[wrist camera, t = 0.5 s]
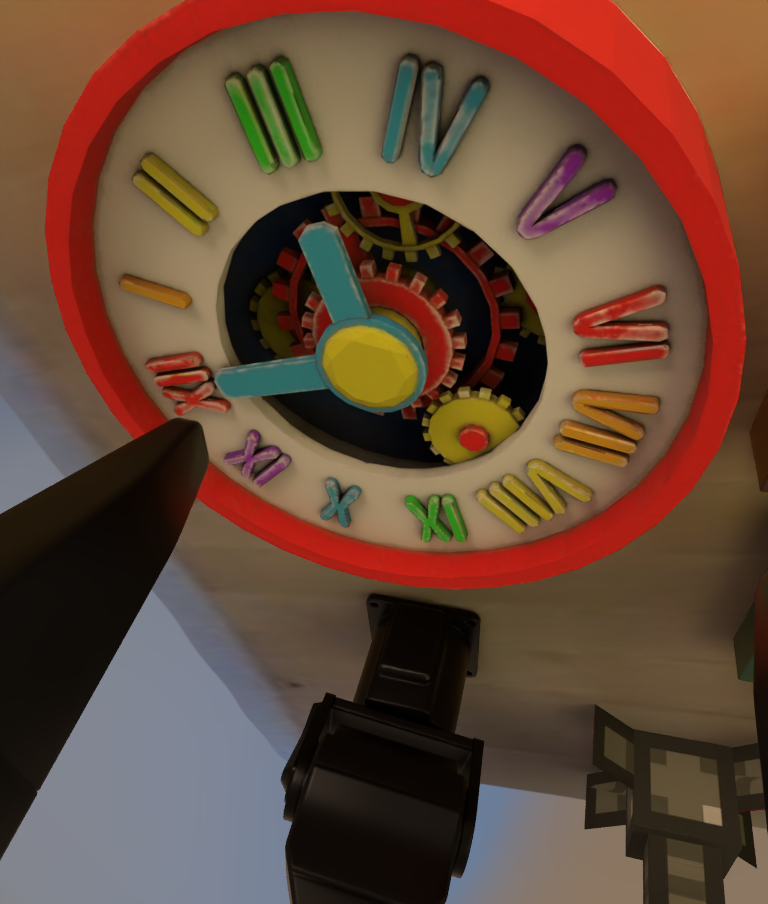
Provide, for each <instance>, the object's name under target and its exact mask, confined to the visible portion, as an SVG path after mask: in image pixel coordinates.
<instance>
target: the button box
mask: <svg viewBox="0 0 768 904" xmlns="http://www.w3.org/2000/svg"><path fill="white" fill-rule="evenodd" d="M754 631H755V602H754V603H753V605H752V607H751V609H750V611H749V612H748V614H747V616H746V618H745V619H744V621H743V623H742V625H741V627H740V628H739V630H738V632H737V634H736V636H735V637H734V639H733V640H734V649H735V657H736V665H737V674H738V679H739V680H743V681H748V682H753V672H754Z"/></svg>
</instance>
